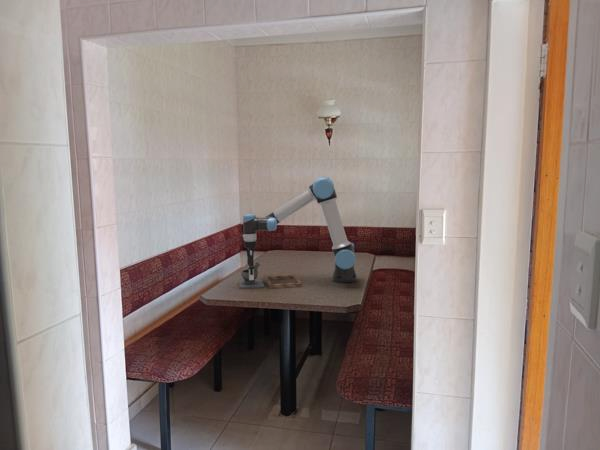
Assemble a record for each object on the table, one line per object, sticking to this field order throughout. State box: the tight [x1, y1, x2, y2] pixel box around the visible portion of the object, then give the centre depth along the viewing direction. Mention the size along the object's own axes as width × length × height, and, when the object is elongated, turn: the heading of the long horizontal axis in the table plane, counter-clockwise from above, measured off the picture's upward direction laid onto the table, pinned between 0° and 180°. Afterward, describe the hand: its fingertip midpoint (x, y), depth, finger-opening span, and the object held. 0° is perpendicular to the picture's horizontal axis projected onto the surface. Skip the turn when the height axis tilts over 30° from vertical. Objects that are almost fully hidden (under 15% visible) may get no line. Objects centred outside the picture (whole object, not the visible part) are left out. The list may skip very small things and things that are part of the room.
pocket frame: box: [264, 274, 303, 290], centre depth 277 cm, size 19×22×2 cm
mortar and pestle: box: [240, 262, 261, 284], centre depth 272 cm, size 11×9×12 cm
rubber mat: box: [238, 278, 265, 290], centre depth 273 cm, size 14×16×1 cm
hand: (250, 277), depth 273 cm, fingers closed on mortar and pestle, 10 cm apart
